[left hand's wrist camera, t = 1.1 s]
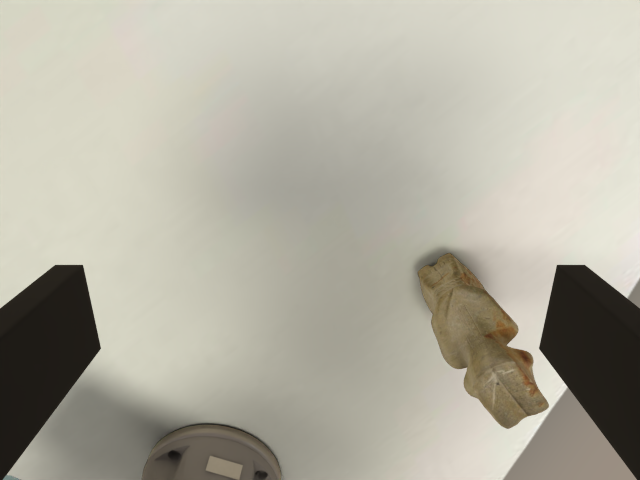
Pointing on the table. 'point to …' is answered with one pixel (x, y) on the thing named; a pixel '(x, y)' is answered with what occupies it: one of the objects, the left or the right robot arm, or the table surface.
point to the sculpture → (480, 342)
